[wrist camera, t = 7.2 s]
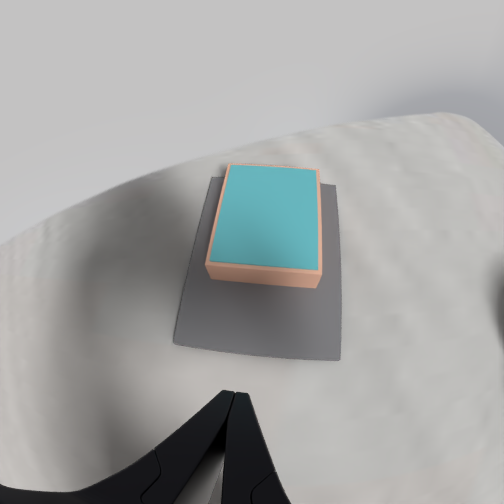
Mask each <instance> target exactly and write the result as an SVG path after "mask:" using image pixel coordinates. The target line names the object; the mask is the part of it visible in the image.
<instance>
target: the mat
mask: <svg viewBox="0 0 504 504" xmlns="http://www.w3.org/2000/svg"><path fill="white" fill-rule="evenodd" d="M224 179H225V177H212V180H211V184H210V187H209V191H208V194H207V198H206V202H205V205H204V209H203V213H202V216H201V220H200V224H199V228H198V232H197V236H196V240H195V244H194V248H193V252H192V256H191V260H190V265H189V269H188V273H187V278H186V282H185V286H184V291H183V296H182V300H181V305H180V310H179V315H178V320H177V325H176V330H175V335H174V340H173V343H174V344H177V345H182V346H188V347H194V348H200V349H206V350H213V351H220V352H228V353H236V354H244V355H253V356H263V357H274V358H287V359H303V360H326V361H339V360H340V353H341V315H342V292H341V254H340V234H339V219H338V206H337V195H336V185H328V184H320V194H321V220H322V276H321V278H320V281H319V283H318V285H317V287H316V288H304V287H291V286H278V285H267V284H255V283H244V282H234V281H223V280H213V279H211V278H210V276H209V273H208V271H207V269H206V266H205V262H206V257H207V252H208V248H209V243H210V239H211V234H212V230H213V225H214V221H215V217H216V212H217V208H218V204H219V200H220V195H221V191H222V187H223V183H224Z"/></svg>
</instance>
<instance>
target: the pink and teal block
mask: <svg viewBox="0 0 504 504" xmlns="http://www.w3.org/2000/svg"><path fill="white" fill-rule="evenodd" d="M205 266H206V269H207V271H208V273H209V276H210V278H211V279H213V280H223V281H234V282H244V283H255V284H267V285H278V286H291V287H304V288H316V287H317V285H318V283H319V281H320V278H321V276H322V220H321V194H320V175H319V169H310V168H299V167H287V166H272V165H254V164H228V167H227V171H226V175H225V179H224V183H223V187H222V191H221V195H220V200H219V204H218V208H217V212H216V217H215V221H214V225H213V230H212V234H211V239H210V243H209V248H208V252H207V257H206V262H205Z"/></svg>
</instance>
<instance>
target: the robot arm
mask: <svg viewBox="0 0 504 504" xmlns="http://www.w3.org/2000/svg"><path fill="white" fill-rule="evenodd" d="M154 449H155V450H154ZM154 449H152V450H151V451H150V452H149V453H147V454H146V455H145V456H143V457H142V458H140V459H139V460H138V461H136V462H135V463H133V464H132V465H130V466H128V467H127V468H125V469H123V470H121V471H120V472H118V473H116V474H114V475H112V476H110V477H108V478H106V479H104V480H102V481H100V482H98V483H96V484H94V485H91V486H89V487H87V488H85V489H82V490H78V491H73V492H45V491H32V490H23V489H15V488H10V487H6V486H3V485H1V484H0V504H208V503H209V500H210V498H211V495H212V492H213V490H214V487H215V484H216V482H217V479H218V476H219V473H220V471H221V468H222V465H223V462H224V469H223V483H222V498H221V504H291V502H290V501H289V499H288V497H287V495H286V493H285V491H284V489H283V487H282V484H281V482H280V480H279V477H278V475H277V472H275V471H276V470H275V467H274V464H273V462H272V459H271V456H270V454H269V451H268V448H267V445H266V443H265V440H264V437H263V434H262V431H261V428H260V426H259V423H258V420H257V417H256V414H255V411H254V408H253V405H252V402H251V399H250V396H249V394H248V393H242V392H236V393H235V392H234V391H227V390H222V391H221V392H220V393H219V394H217V395H216V396H215V397H214V398H213V399H212V400H211V401H210V402H209V403H207V404H206V405H205V406H204V407H203V408H202V409H201V410H200V411H198V412H197V413H196V414H195V415H194V416H193V417H192V418H190V419H189V420H188V421H187V422H186V423H185V424H183V425H182V426H181V427H180V428H179V429H177V430H176V431H175V432H174V433H173V434H171V435H170V436H169V437H168V438H166V439H165V440H164V441H163V442H161V443H160V444H159V445H158V446H156V447H155V448H154Z"/></svg>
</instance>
